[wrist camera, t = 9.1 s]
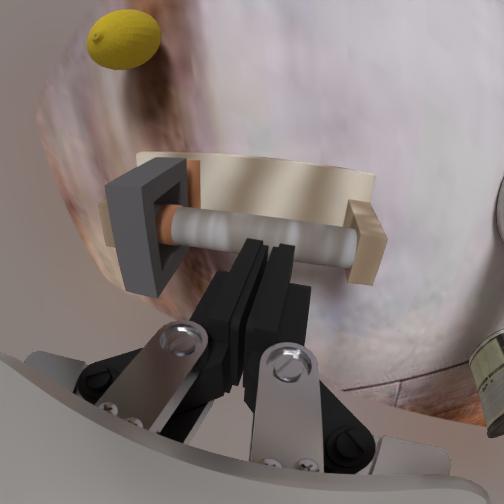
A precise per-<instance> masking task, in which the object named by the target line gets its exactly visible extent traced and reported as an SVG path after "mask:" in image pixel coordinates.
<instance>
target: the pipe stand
mask: <svg viewBox="0 0 504 504" xmlns="http://www.w3.org/2000/svg"><path fill="white" fill-rule="evenodd" d="M155 157H171V158H187V192H188V207H183V206H182V205H172V204H163V205H158V204H154V212H155V222H156V230H157V239H158V243H160V244H167V245H174V246H178V245H183V246H190V247H197V248H204V249H211V250H218V251H225V252H232V253H240V251H241V249H242V247H243V245H244V243H245V241H246V239H247V238H251V239H257V240H263V245H268V246H269V249H268V258H269V257H270V254H271V251H272V248H273V246H275V247H279V244H280V243H282V244H288V245H294V246H295V253H294V260H293V261H296V262H303V263H310V264H317V265H324V266H332V267H339V268H345V270H346V276H347V282H348V283H356V284H363V285H371V286H373V283H374V280H375V277H376V274H377V271H378V268H379V265H380V262H381V259H382V256H383V253H384V250H385V247H386V244H387V240H388V238H387V236H386V234H385V232H384V230H383V228H382V226H381V224H380V222H379V220H378V218H377V216H376V214H375V212H374V210H373V208H372V206H371V204H370V200H371V195H372V191H373V186H374V181H375V175H374V174H373V173H368V172H363V171H357V170H352V169H346V168H340V167H334V166H328V165H321V164H314V163H307V162H300V161H292V160H284V159H275V158H265V157H255V156H243V155H230V154H214V153H193V152H139V153H136V158H137V167H138V166H140V165H142V164H144V163H145V162H147V161H149V160H151V159H153V158H155ZM98 207H99V213H100V218H101V223H102V228H103V233H104V238H105V242H106V246H109V247H115V243H114V238H113V233H112V228H111V222H110V217H109V211H108V205H107V198H106V199H104V200H103V201H101V202H100V203H98Z"/></svg>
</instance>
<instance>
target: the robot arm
mask: <svg viewBox="0 0 504 504" xmlns="http://www.w3.org/2000/svg"><path fill="white" fill-rule="evenodd" d="M497 225H498V230H499V233H500V236H501V239H502V240H503V242H504V180H503V183H502V186H501V189H500V192H499V198H498V203H497ZM268 249H269V246H268V245H263V240H257V239H251V238H247V239H246V241H245V243H244V245H243V247H242V249H241V251H240V253H239V255H238V257H237V258H236V260H235V262H234V264H233V266H232V268H231V270H230V272H226V271H220V270H219V271H217V273H216V274H215V276H214V277H213V279H212V281H211V283H210V284H209V286H208V288H207V290H206V291H205V293H204V295H203V297H202V299H201V300H200V302H199V304H198V306H197V307H196V309H195V311H194V313H193V315H192V316H191V318H190V320H189V321H188V320H177V321H173V322H170V323H168V324H166V325H164V326H163V327H161V328H160V329H159V330H158V331H157V332H156V334H155V335H154V336H153V337H152V338H151V339H150V341H149V342H148V343H147V344H146V345H145V347H143V348H140V349H137V350H134V351H131V352H128V353H125V354H122V355H118V356H115V357H111V358H108V359H105V360H102V361H98V362H95V363H93V364H90V365H86V363H85V362H84V361H80V360H75V359H71V358H67V357H63V356H59V355H55V354H51V353H47V352H44V351H36V352H33V353H31V354H30V355H29V356H28V357H27V358H26V359H25V361H24V362H22V361H20V360H19V359H17V358H15V357H13V356H10V355H8V354H5V353H1V352H0V504H492V502H491V499H490V496H489V495H488V493H487V491H486V490H485V489H484V488H483V487H481V486H480V485H479V484H477V483H475V482H473V481H470V480H467V479H465V478H462V477H456V476H451V475H450V469H451V459H450V457H449V455H448V453H447V452H446V451H445V450H444V449H443V448H440V447H438V446H432V445H426V444H421V443H416V442H411V441H406V440H401V439H397V438H393V437H389V436H385V435H384V436H383V437H381V438H380V437H376V436H373V435H372V434H371V433H370V431H369V430H368V429H367V428H366V427H365V426H364V425H363V424H362V423H361V422H360V421H359V420H358V419H357V418H356V417H355V416H354V415H353V414H352V413H351V412H350V411H349V410H348V409H347V408H346V407H345V406H344V405H343V404H342V403H341V402H340V401H339V400H338V399H337V398H336V397H335V396H334V394H333V393H332V392H331V391H330V390H329V389H328V388H327V387H326V386H325V385H324V384H323V383H322V382H321V381H320V380H319V371H318V363H317V360H316V357H315V356H314V355H313V353H312V352H311V351H310V350H308V349H307V348H306V347H304V344H305V337H306V329H307V321H308V313H309V304H310V295H311V286H305V285H299V284H293V283H290V279H291V273H292V266H293V260H294V253H295V246H294V245H288V244H282V243H280V244H279V247H275V246H273V248H272V251H271V254H270V257H269V260H268ZM267 260H268V262H267ZM242 373H243V387H244V388H245V395H244V401H245V402H246V404H247V405H248V407H249V408H250V409H251V411H252V412H253V421H252V433H251V442H250V452H249V462H248V461H243V460H239V459H235V458H230V457H227V456H223V455H219V454H215V453H212V452H208V451H205V450H202V449H198V448H195V447H192V446H189V443H190V442H191V440H192V438H193V437H194V435H195V434H196V432H197V430H198V429H199V427H200V425H201V424H202V422H203V420H204V419H205V417H206V415H207V413H208V412H209V410H210V408H211V407H212V405H213V402H214V399H217V398H219V397H221V396H224V393H225V392H227V393H230V390H231V387H232V385H235V386H238V385H239V381H240V379H241V376H242Z"/></svg>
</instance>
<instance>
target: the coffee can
mask: <svg viewBox="0 0 504 504" xmlns="http://www.w3.org/2000/svg"><path fill="white" fill-rule="evenodd" d="M469 367H470V369H471V372H472V375H473V378H474V381H475V385H476V388H477V391H478V395H479V398H480V402H481V406H482V409H483V413H484V418H485V422H486V426H487V430H488V432H487V435H488V438H495V437H498V436H501V435H504V329H502V330H500V331H497V332H496V333H494V334H492V335H491V336H489V337H488V338H486V339H485V340H484V341H483V342H482V343H481V344H480V345H479V346H478V347H477V348H476V349H475V350H474V352H473V353H472V355H471V356H470V359H469Z"/></svg>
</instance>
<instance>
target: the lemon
mask: <svg viewBox="0 0 504 504" xmlns="http://www.w3.org/2000/svg"><path fill="white" fill-rule="evenodd" d="M160 42H161V30H160V27H159V25H158V23H157V22H156V20H155V19H153V18H152V17H151V16H150V15H148V14H146V13H144V12H141V11H138V10H118V11H114V12H111V13H109V14H107V15H105V16H103V17H102V18H101V19H99V20H98V21H97V22H96V23H95V24H94V26H93V27H92V29H91V30H90V32H89V35H88V38H87V50H88V53H89V55H90V57H91V58H92V60H93V61H95V62H96V63H97V64H99V65H101V66H103V67H106V68H109V69H113V70H127V69H131V68H135V67H138V66H140V65H142V64H144V63H145V62H147V61H148V60H149V59H150V58H152V56H153V55H154V54H155V53H156V51H157V49H158V48H159V45H160Z"/></svg>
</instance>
